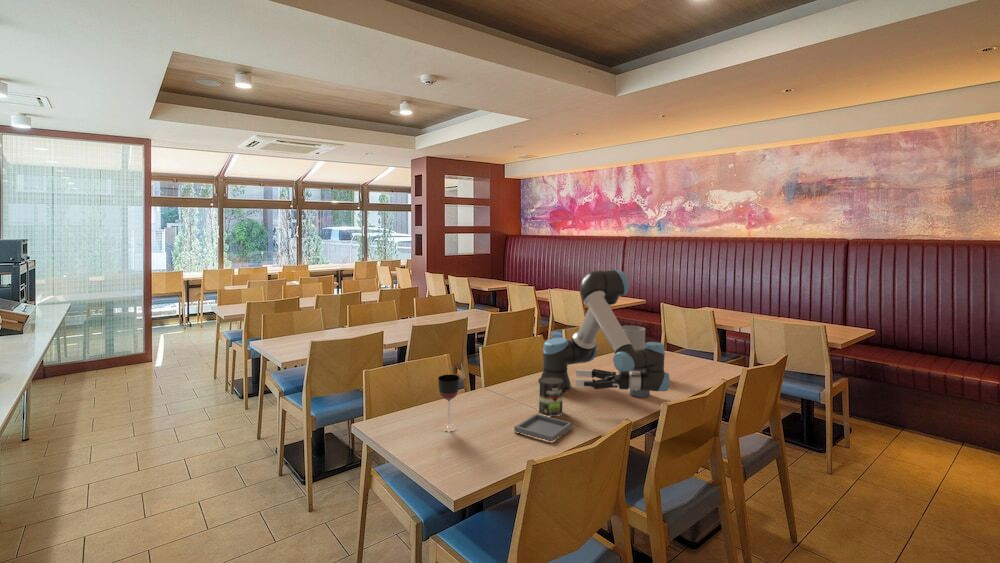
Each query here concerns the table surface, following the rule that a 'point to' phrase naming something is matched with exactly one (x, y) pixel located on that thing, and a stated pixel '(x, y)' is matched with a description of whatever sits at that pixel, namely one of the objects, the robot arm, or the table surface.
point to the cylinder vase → (635, 336)
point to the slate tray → (543, 427)
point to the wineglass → (448, 389)
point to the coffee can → (550, 396)
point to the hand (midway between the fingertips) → (575, 377)
